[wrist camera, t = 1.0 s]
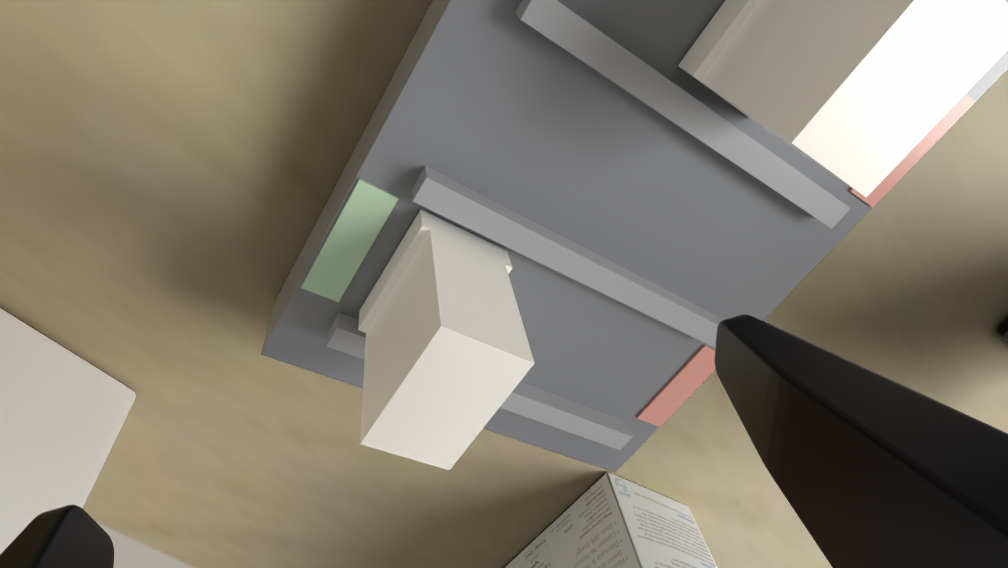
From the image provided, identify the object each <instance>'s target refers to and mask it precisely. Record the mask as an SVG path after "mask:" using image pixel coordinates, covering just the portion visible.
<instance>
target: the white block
mask: <svg viewBox="0 0 1008 568" xmlns="http://www.w3.org/2000/svg"><path fill="white" fill-rule="evenodd" d="M1007 50H1008V3H1007V2H1006V1H1005V0H725V2H724V3H723V4H722V6H721V7H720V9H719V10H718V11H717V13H716V14H715V15H714V17H713V18H712V19H711V21H710V22H709V24H708V25H707V26H706V28H705V29H704V30H703V32H702V33H701V35H700V36H699V37H698V39H697V40H696V41H695V43H694V44H693V46H692V47H691V48H690V50H689V51H688V52H687V54H686V55H685V57H684V58H683V59H682V61H681V62H680V63H679V65H678V66H679V67H680V68H681V69H683V70H684V71H686V72H687V73H688V74H690V75H691V76H692V77H694V78H695V79H697V80H698V81H699V82H701V83H702V84H703V85H705V86H706V87H708V88H709V89H710V90H712V91H713V92H714V93H716V94H717V95H719V96H720V97H721V98H723V99H724V100H725V101H727V102H728V103H730V104H731V105H732V106H734V107H735V108H736V109H738V110H739V111H741V112H742V113H743V114H745V115H746V116H747V117H749V118H750V119H752V120H753V121H754V122H756V123H757V124H759V125H760V126H762V127H763V128H765V129H766V130H768V131H769V132H771V133H772V134H774V135H775V136H777V137H778V138H780V139H781V140H783V141H784V142H786V143H787V144H788V145H790V146H791V147H793V148H794V149H796V150H797V151H799V152H800V153H802V154H803V155H805V156H806V157H807V158H809V159H810V160H812V161H813V162H815V163H816V164H818V165H819V166H821V167H822V168H824V169H825V170H826V171H828V172H829V173H831V174H832V175H834V176H835V177H837V178H838V179H840V180H841V181H843V182H844V183H845V184H847V185H848V186H850V187H851V188H853V189H854V190H856V191H857V192H859V193H860V194H862V195H863V196H864V197H867V196H868V195H869V194H870V193H871V192H872V191H873V190H874V189H875V188H876V187H877V186H878V185H879V184H880V183H881V182H882V181H883V180H884V179H885V178H886V177H887V176H888V174H889V173H890V172H891V171H892V170H893V169H894V168H895V167H896V166H897V165H898V164H899V163H900V162H901V161H902V160H903V159H904V158H905V157H906V156H907V155H908V154H909V153H910V152H911V150H912V149H913V148H914V147H915V146H916V145H917V144H918V143H919V142H920V141H921V140H922V139H923V138H924V137H925V136H926V135H927V134H928V133H929V132H930V131H931V130H932V129H933V128H934V126H935V125H936V124H937V123H938V122H939V121H940V120H941V119H942V118H943V117H944V116H945V115H946V114H947V113H948V112H949V111H950V110H951V109H952V108H953V107H954V106H955V105H956V104H957V103H958V101H959V100H960V99H961V98H962V97H963V96H964V95H965V94H966V93H967V92H968V91H969V90H970V89H971V88H972V87H973V86H974V85H975V84H976V83H977V82H978V81H979V80H980V79H981V77H982V76H983V75H984V74H985V73H986V72H987V71H988V70H989V69H990V68H991V67H992V66H993V65H994V64H995V63H996V62H997V61H998V60H999V59H1000V58H1001V57H1002V56H1003V55H1004V53H1005V52H1006V51H1007Z"/></svg>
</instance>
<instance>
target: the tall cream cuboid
mask: <svg viewBox="0 0 1008 568" xmlns="http://www.w3.org/2000/svg"><path fill="white" fill-rule="evenodd" d="M511 270H512V265H511V261H510V258H509V255H508V252H507V251H506V250H504V249H502V248H500V247H498V246H496V245H494V244H492V243H490V242H488V241H486V240H483V239H481V238H479V237H477V236H475V235H473V234H471V233H469V232H467V231H465V230H463V229H461V228H459V227H456V226H454V225H452V224H450V223H448V222H446V221H444V220H442V219H440V218H438V217H436V216H434V215H431V214H429V213H427V212H425V211H423V210H420V211H419V213H418V215H417V216H416V218H415V220H414V221H413V223H412V224H411V226H410V228H409V229H408V231H407V233H406V234H405V236H404V238H403V239H402V241H401V243H400V244H399V246H398V248H397V249H396V251H395V253H394V254H393V256H392V258H391V259H390V261H389V263H388V264H387V266H386V268H385V269H384V271H383V273H382V274H381V276H380V277H379V279H378V281H377V282H376V284H375V286H374V287H373V289H372V291H371V292H370V294H369V296H368V297H367V299H366V301H365V302H364V304H363V306H362V307H361V309H360V311H359V325H358V330H359V331H362V332H365V333H366V340H365V359H364V379H363V398H362V417H361V437H360V444H361V445H365V446H368V447H371V448H375V449H378V450H382V451H385V452H388V453H392V454H395V455H399V456H402V457H406V458H409V459H412V460H416V461H419V462H423V463H426V464H429V465H433V466H436V467H440V468H443V469H446V470H450V469H451V468H452V466H453V465H454V464H455V463H456V461H457V460H458V459H459V458H460V456H461V455H462V454H463V453H464V451H465V450H466V449H467V448H468V446H469V445H470V444H471V443H472V441H473V440H474V439H475V438H476V436H477V435H478V434H479V433H480V431H481V430H482V429H483V428H484V426H485V425H486V424H487V422H488V421H489V420H490V419H491V417H492V416H493V415H494V414H495V412H496V411H497V410H498V409H499V407H500V406H501V405H502V404H503V402H504V401H505V400H506V399H507V397H508V396H509V395H510V394H511V392H512V391H513V390H514V389H515V387H516V386H517V385H518V384H519V382H520V381H521V380H522V379H523V377H524V376H525V375H526V374H527V372H528V371H529V370H530V369H531V367H532V366H533V365H534V364H535V363H534V360H533V356H532V353H531V350H530V346H529V343H528V339H527V336H526V333H525V329H524V326H523V322H522V319H521V316H520V312H519V309H518V305H517V302H516V299H515V295H514V292H513V289H512V285H511V282H510V278H509V275H508V274H509V272H510V271H511Z"/></svg>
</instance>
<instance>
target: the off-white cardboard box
mask: <svg viewBox="0 0 1008 568" xmlns="http://www.w3.org/2000/svg"><path fill="white" fill-rule="evenodd" d="M135 397H136V395H135V392H134V391H132V390H131V389H129V388H128V387H126V386H125V385H123V384H122V383H120V382H118V381H117V380H115V379H114V378H112V377H110V376H109V375H107V374H106V373H104V372H102V371H101V370H99V369H98V368H96V367H94V366H93V365H91V364H89V363H88V362H86V361H85V360H83V359H81V358H80V357H78V356H77V355H75V354H73V353H72V352H70V351H69V350H67V349H65V348H64V347H62V346H60V345H59V344H57V343H56V342H54V341H52V340H51V339H49V338H48V337H46V336H44V335H43V334H41V333H40V332H38V331H36V330H35V329H33V328H31V327H30V326H28V325H27V324H25V323H23V322H22V321H20V320H19V319H17V318H15V317H14V316H12V315H10V314H9V313H7V312H6V311H4V310H2V309H1V308H0V554H1V553H2V552H3V551H4V550H5V549H6V548H7V547H8V546H9V545H10V544H11V543H12V541H13V540H14V539H15V538H16V537H17V536H18V535H19V534H20V533H21V532H22V531H23V530H24V529H25V528H26V526H27V525H28V524H29V523H30V522H31V521H32V520H33V519H34V518H35V517H36V516H38V515H39V514H41V513H43V512H46V511H49V510H53V509H56V508H60V507H63V506H67V505H76V506H79V507H81V508H83V506H84V504H85V502H86V499H87V497H88V495H89V493H90V491H91V489H92V487H93V485H94V483H95V481H96V479H97V477H98V475H99V473H100V470H101V468H102V466H103V464H104V462H105V460H106V458H107V456H108V454H109V452H110V450H111V448H112V446H113V444H114V441H115V439H116V437H117V435H118V433H119V431H120V429H121V427H122V425H123V423H124V421H125V419H126V417H127V415H128V412H129V410H130V408H131V406H132V404H133V402H134V400H135Z"/></svg>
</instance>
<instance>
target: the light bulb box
mask: <svg viewBox="0 0 1008 568" xmlns="http://www.w3.org/2000/svg"><path fill="white" fill-rule="evenodd" d="M505 568H718V567H717V565H716V563H715V561H714V559H713V557H712V555H711V553H710V551H709V549H708V547H707V545H706V542H705V540H704V538H703V536H702V534H701V532H700V530H699V528H698V526H697V524H696V522H695V520H694V518H693V516H692V514H691V512H690V510H689V508H688V506H686V505H684V504H682V503H679V502H677V501H675V500H672V499H670V498H668V497H665V496H663V495H661V494H658V493H656V492H654V491H651V490H649V489H647V488H644V487H642V486H639V485H637V484H635V483H633V482H630V481H628V480H625V479H623V478H621V477H618V476H616V475H614V474H611V473H609V472H606V473H605V475H604V476H603V477H601V478H600V479H599V480H598V481H597V482H596V483H595V484H594V485H593V486H592V487H591V488H590V489H589V490H588V491H587V492H585V493H584V494H583V495H582V496H581V497H580V498H579V499H578V500H577V501H576V502H575V503H574V504H573V505H572V506H570V507H569V508H568V509H567V510H566V511H565V512H564V513H563V514H562V515H561V516H560V517H559V518H558V519H557V520H555V521H554V522H553V523H552V524H551V525H550V526H549V527H548V528H547V529H546V530H545V531H544V532H542V533H541V534H540V535H539V536H538V537H537V538H536V539H535V540H534V541H533V542H532V543H531V544H530V545H528V546H527V547H526V548H525V549H524V550H523V551H522V552H521V553H520V554H519V555H518V556H517V557H516V558H514V559H513V560H512V561H511V562H510V563H509V564H508V565H507V566H506V567H505Z"/></svg>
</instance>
